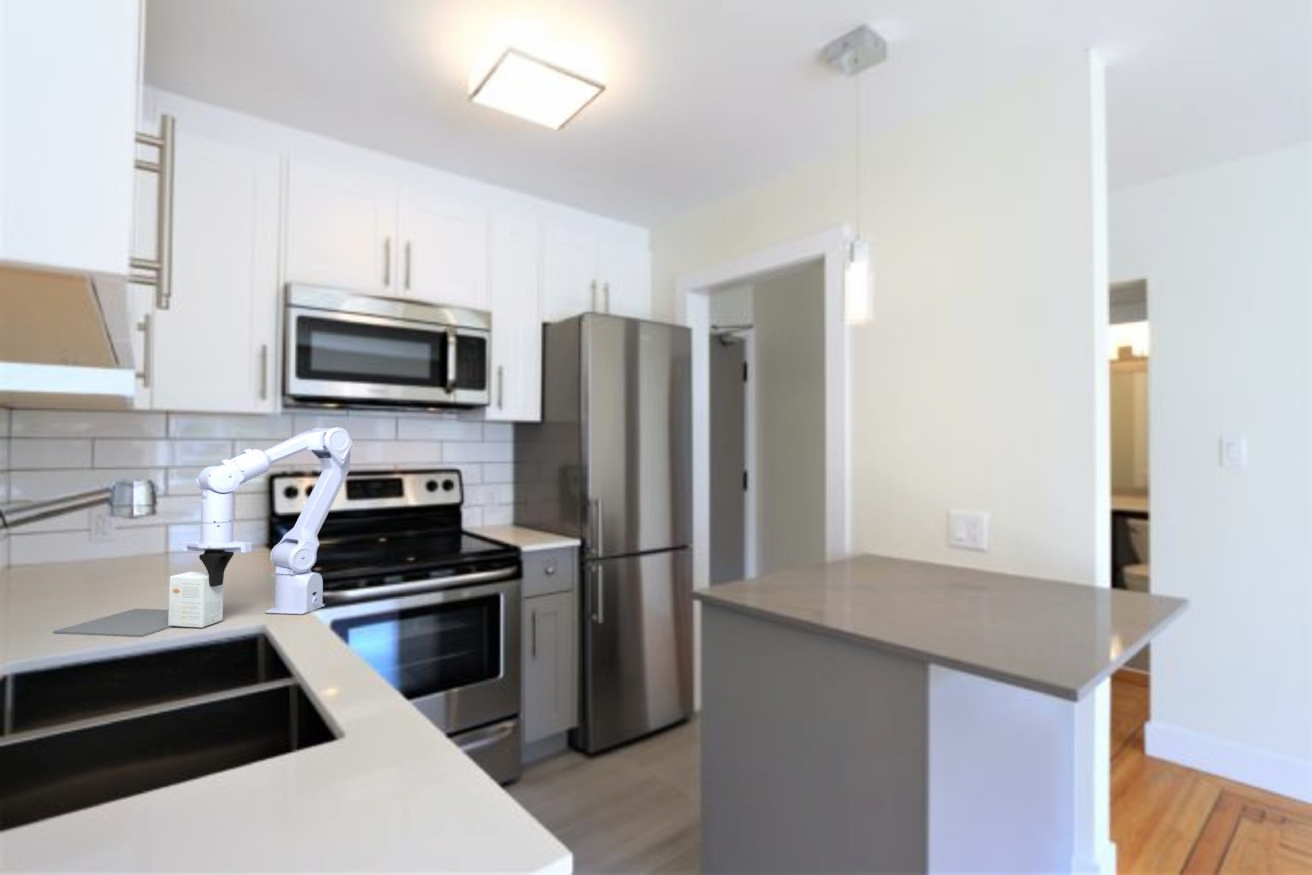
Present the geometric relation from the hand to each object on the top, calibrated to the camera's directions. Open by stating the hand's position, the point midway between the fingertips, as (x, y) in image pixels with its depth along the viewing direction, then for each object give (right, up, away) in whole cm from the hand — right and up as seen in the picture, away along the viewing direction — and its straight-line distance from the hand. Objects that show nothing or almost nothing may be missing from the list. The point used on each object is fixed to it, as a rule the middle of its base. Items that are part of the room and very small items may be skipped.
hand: (216, 585), depth 133 cm
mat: (-18, -9, +2) cm, 20 cm away
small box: (-5, -8, 0) cm, 10 cm away
